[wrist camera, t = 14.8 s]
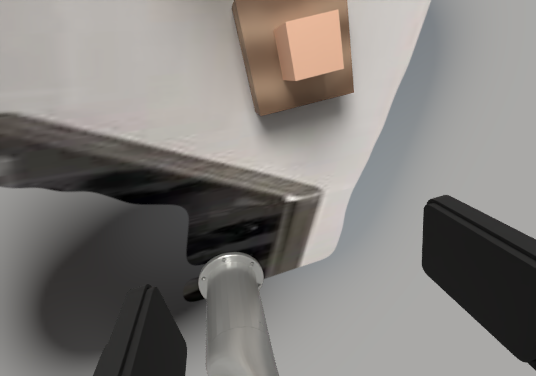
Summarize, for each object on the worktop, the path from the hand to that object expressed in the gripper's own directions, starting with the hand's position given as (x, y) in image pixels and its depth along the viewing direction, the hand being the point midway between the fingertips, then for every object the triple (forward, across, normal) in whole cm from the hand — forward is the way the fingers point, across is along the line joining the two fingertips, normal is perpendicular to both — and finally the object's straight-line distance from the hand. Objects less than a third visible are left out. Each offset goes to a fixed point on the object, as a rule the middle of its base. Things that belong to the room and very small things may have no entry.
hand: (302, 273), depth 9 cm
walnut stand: (+36, -11, -7) cm, 39 cm away
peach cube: (+31, -11, -7) cm, 34 cm away
